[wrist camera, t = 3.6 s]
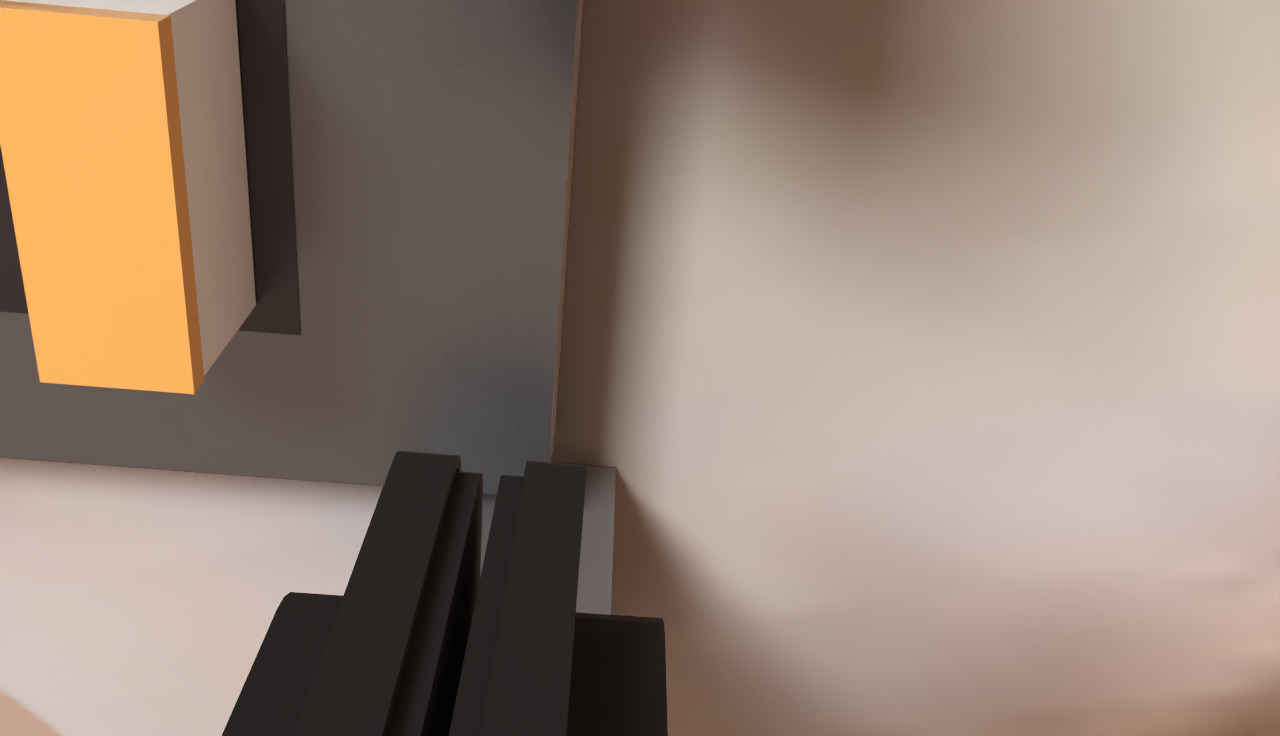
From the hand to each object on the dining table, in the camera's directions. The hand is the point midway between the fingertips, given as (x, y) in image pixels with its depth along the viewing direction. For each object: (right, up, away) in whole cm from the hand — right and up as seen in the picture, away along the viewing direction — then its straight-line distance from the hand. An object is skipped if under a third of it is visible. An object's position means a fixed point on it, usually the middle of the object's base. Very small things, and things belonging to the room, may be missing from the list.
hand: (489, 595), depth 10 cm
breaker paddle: (-7, +6, +11) cm, 14 cm away
